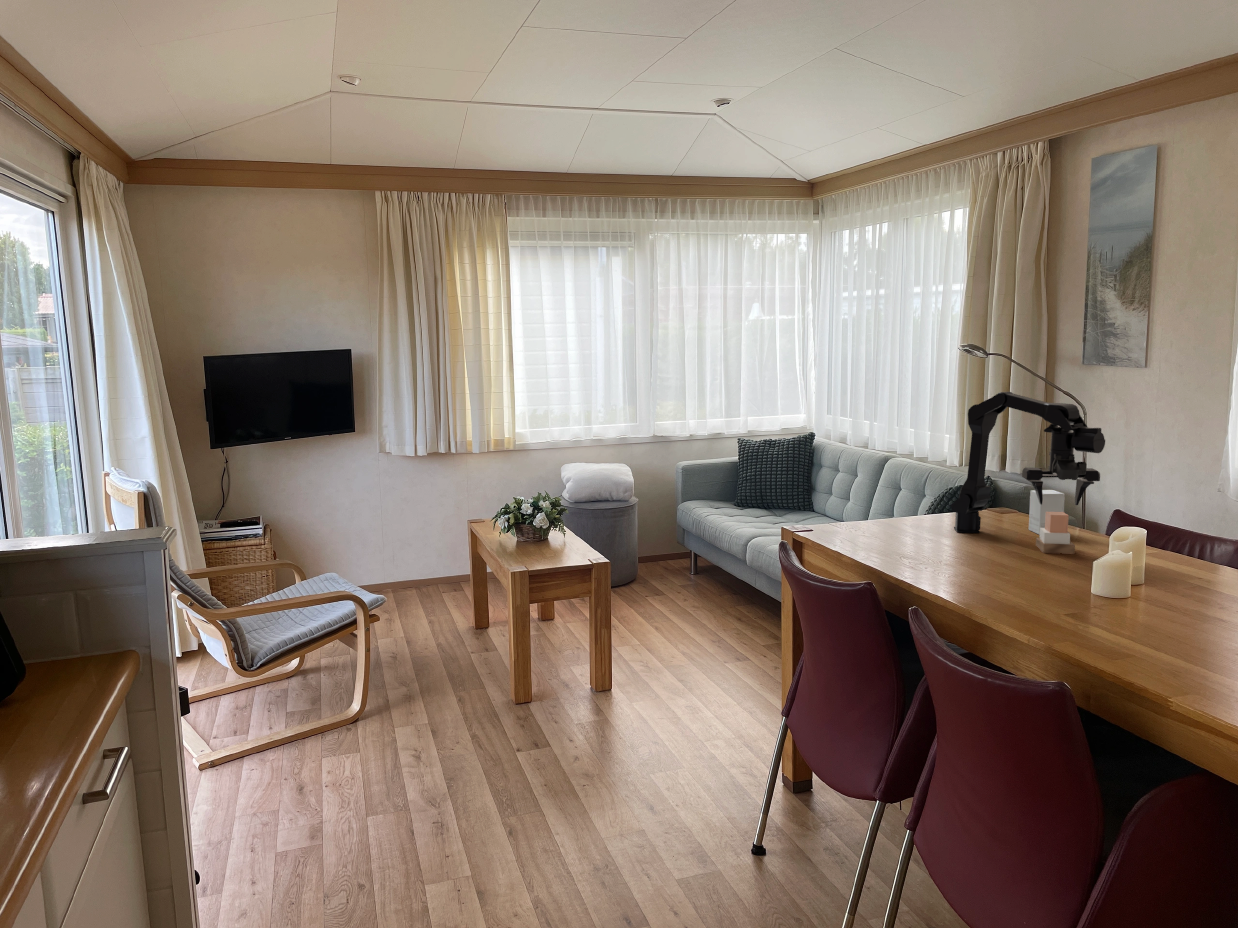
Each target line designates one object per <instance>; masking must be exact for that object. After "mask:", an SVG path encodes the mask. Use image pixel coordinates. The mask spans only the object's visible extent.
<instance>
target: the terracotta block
mask: <svg viewBox="0 0 1238 928" xmlns="http://www.w3.org/2000/svg"><path fill="white" fill-rule="evenodd" d="M1068 527H1069V514H1067V513H1065V511H1064V512H1046V515H1045V529H1046V530H1047V531H1048V532H1050V533H1068V532H1069V528H1068Z"/></svg>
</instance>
